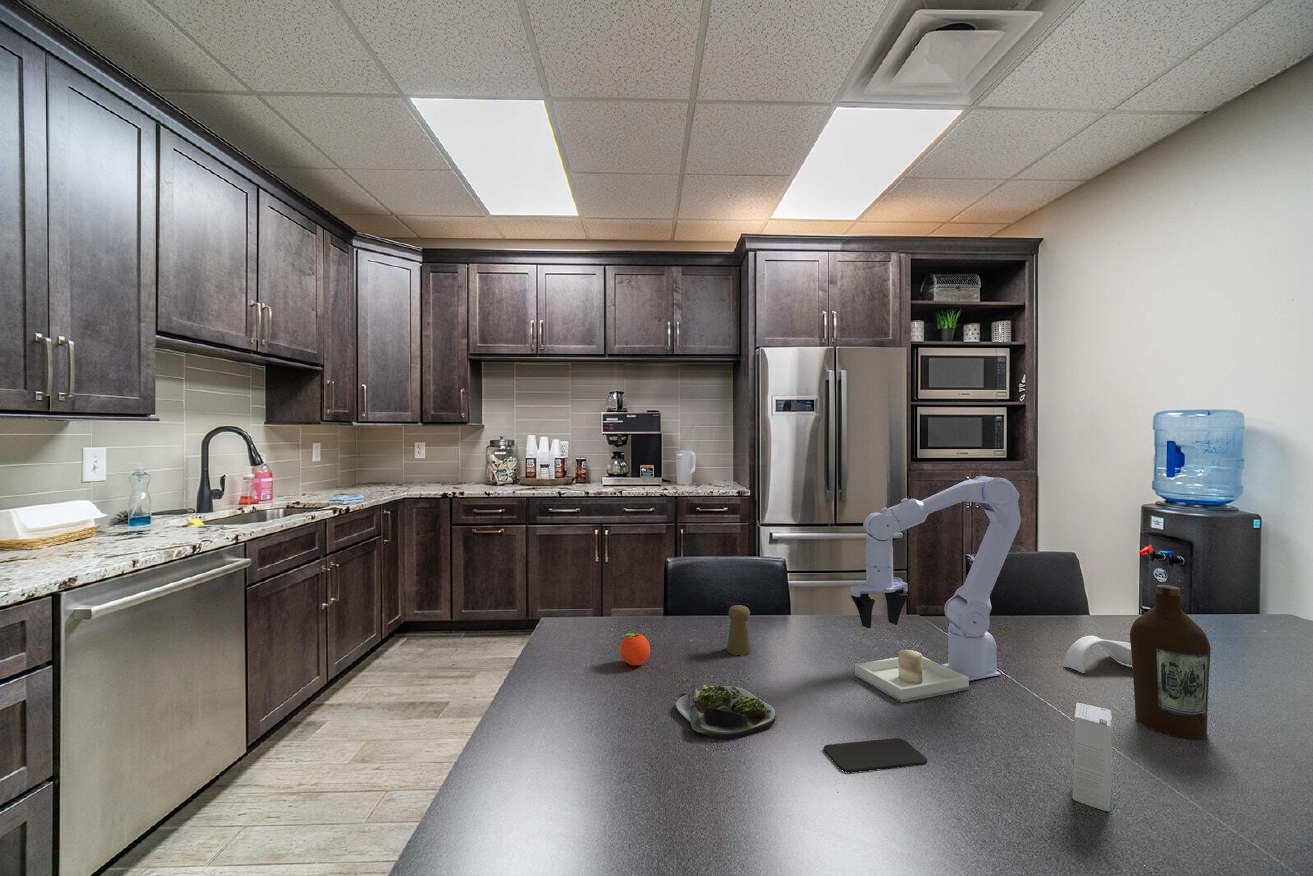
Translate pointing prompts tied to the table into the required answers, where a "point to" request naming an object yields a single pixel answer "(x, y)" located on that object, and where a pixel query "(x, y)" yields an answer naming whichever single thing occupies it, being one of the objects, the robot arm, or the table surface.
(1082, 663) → the white curved arch piece
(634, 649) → the clementine
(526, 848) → the table surface
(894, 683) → the tray
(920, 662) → the beige rounded cylinder
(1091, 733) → the skincare box
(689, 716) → the salad plate
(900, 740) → the phone
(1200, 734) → the brown liquor bottle
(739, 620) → the cork
